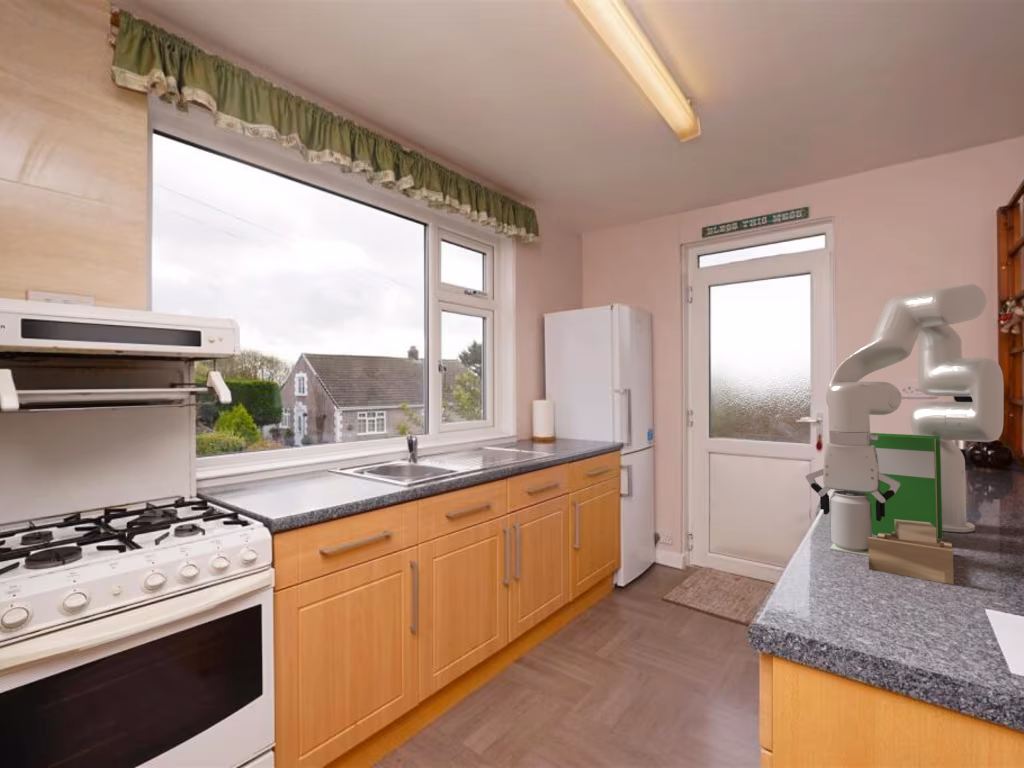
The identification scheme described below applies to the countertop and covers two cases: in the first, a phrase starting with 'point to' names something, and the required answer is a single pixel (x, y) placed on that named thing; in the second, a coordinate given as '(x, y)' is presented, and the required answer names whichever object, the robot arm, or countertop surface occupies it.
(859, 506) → the can
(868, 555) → the mat
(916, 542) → the offcut large
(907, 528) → the offcut small
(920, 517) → the hardback book
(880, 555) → the frame
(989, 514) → the countertop surface
